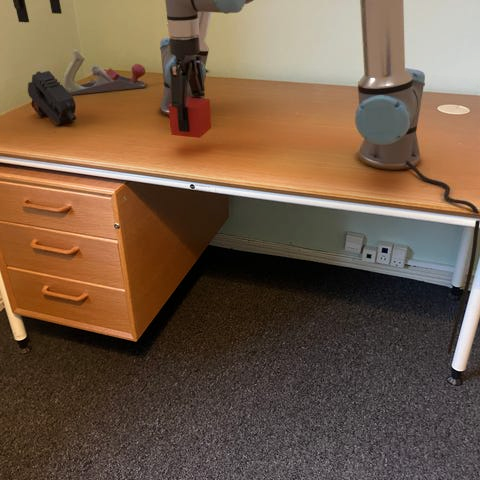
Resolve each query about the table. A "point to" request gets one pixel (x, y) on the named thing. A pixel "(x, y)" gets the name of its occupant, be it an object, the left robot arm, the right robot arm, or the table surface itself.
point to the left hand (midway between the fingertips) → (41, 17)
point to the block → (192, 118)
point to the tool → (51, 98)
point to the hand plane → (100, 78)
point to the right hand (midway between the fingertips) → (191, 125)
